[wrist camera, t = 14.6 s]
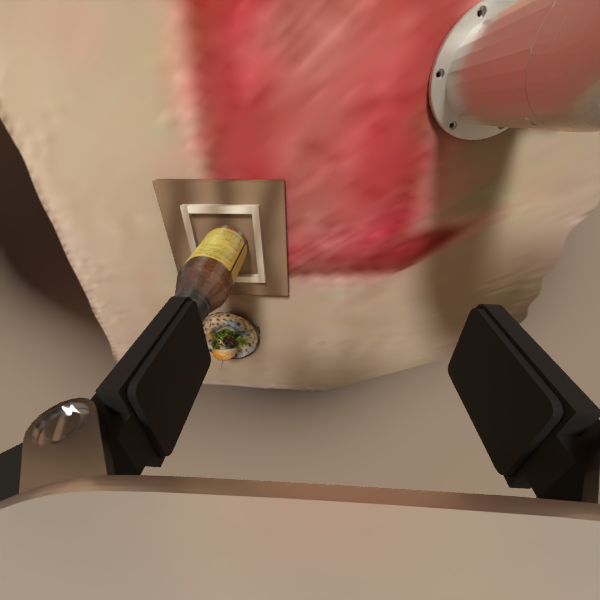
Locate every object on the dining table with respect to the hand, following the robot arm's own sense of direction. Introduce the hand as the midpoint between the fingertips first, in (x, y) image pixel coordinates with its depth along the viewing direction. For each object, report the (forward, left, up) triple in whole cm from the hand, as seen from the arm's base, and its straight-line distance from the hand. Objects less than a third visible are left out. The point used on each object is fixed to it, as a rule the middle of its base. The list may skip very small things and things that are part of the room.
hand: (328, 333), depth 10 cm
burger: (+17, +29, -34) cm, 47 cm away
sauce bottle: (+14, +10, -32) cm, 36 cm away
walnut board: (+14, +10, -33) cm, 37 cm away
